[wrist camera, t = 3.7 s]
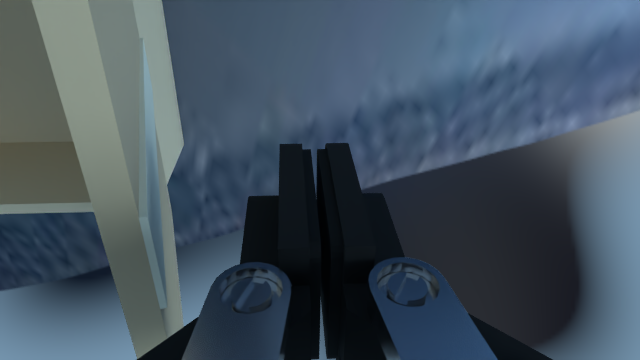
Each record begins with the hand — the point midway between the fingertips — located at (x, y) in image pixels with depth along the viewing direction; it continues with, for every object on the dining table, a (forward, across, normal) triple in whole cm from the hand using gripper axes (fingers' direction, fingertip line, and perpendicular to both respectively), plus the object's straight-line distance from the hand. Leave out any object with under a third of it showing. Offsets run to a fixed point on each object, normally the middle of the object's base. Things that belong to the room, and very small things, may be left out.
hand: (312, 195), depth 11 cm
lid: (+4, +6, 0) cm, 7 cm away
